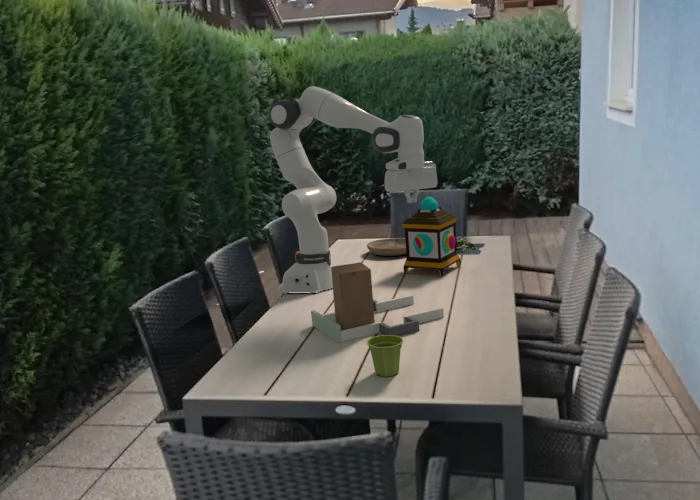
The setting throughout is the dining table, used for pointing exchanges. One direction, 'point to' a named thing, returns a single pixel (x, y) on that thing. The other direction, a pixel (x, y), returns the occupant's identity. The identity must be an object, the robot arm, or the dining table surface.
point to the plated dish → (467, 247)
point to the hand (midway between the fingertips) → (411, 202)
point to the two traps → (398, 326)
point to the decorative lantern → (431, 238)
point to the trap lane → (334, 330)
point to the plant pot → (385, 354)
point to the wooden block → (352, 295)
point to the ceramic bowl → (388, 247)
